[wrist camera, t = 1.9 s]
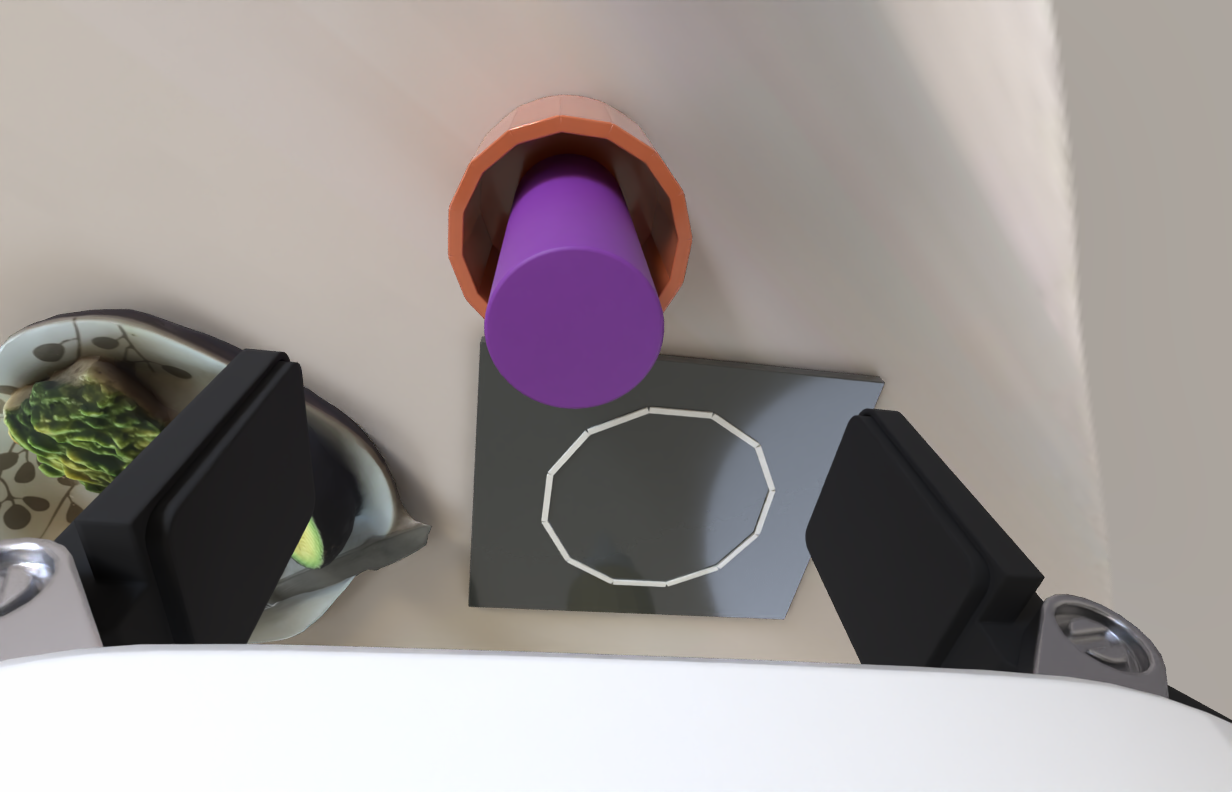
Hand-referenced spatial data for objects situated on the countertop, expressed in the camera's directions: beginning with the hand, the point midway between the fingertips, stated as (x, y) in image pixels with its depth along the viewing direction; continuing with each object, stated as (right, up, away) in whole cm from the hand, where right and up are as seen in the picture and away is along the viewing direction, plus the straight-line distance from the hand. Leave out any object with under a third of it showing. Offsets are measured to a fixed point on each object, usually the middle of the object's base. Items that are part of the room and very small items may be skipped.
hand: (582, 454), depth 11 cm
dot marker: (-1, +8, +12) cm, 15 cm away
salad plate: (-18, -3, +18) cm, 26 cm away
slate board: (+3, -4, +21) cm, 21 cm away
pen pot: (-1, +8, +13) cm, 15 cm away
